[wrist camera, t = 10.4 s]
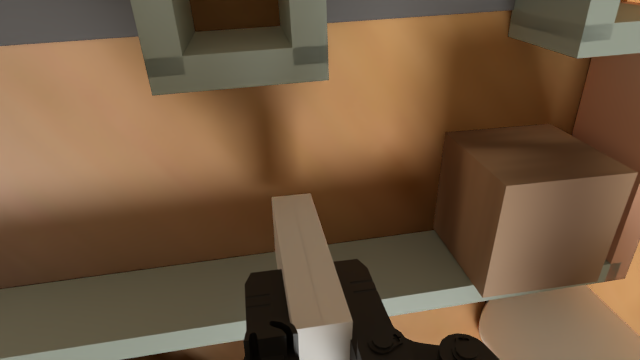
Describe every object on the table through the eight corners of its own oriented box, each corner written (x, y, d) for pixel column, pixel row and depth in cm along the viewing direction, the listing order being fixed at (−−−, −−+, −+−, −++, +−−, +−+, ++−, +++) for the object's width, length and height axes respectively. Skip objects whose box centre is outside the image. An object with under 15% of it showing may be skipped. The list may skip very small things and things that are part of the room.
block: (432, 226, 21) (482, 297, 17) (444, 131, 19) (506, 185, 14) (525, 215, 22) (597, 281, 18) (548, 122, 20) (637, 172, 15)
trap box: (-53, 315, 19) (-119, 398, 15) (-380, -211, 10) (-689, -292, 7) (565, 227, 23) (624, 278, 19) (687, -211, 14) (832, -264, 11)
